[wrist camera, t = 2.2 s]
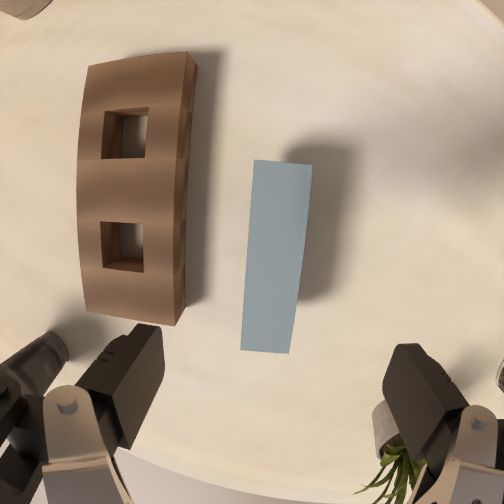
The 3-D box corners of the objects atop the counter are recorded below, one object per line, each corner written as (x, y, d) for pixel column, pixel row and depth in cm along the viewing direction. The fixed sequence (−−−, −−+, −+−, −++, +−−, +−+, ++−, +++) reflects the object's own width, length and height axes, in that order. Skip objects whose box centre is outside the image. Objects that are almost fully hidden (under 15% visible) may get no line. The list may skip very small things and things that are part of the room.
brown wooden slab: (107, 75, 21) (88, 66, 18) (197, 66, 21) (187, 51, 17) (103, 296, 27) (86, 310, 24) (185, 308, 27) (174, 326, 23)
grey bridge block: (257, 163, 23) (254, 159, 17) (300, 167, 23) (312, 165, 17) (246, 310, 27) (240, 349, 20) (284, 313, 26) (288, 353, 20)
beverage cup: (34, 349, 30) (-49, 433, 11) (38, 312, 28) (-67, 400, 9) (73, 379, 31) (-2, 480, 12) (81, 345, 29) (-16, 457, 10)
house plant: (304, 429, 31) (315, 543, 15) (380, 352, 27) (441, 474, 12) (380, 449, 32) (405, 536, 16) (448, 385, 29) (502, 471, 13)
